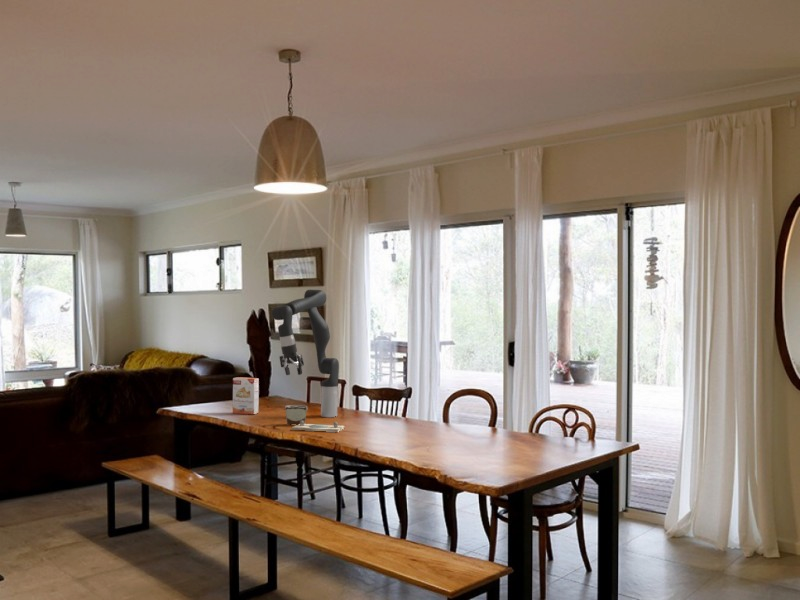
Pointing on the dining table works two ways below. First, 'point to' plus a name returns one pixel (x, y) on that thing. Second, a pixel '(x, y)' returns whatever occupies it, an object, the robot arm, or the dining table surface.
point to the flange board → (318, 427)
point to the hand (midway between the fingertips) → (294, 374)
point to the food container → (295, 414)
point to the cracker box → (245, 395)
